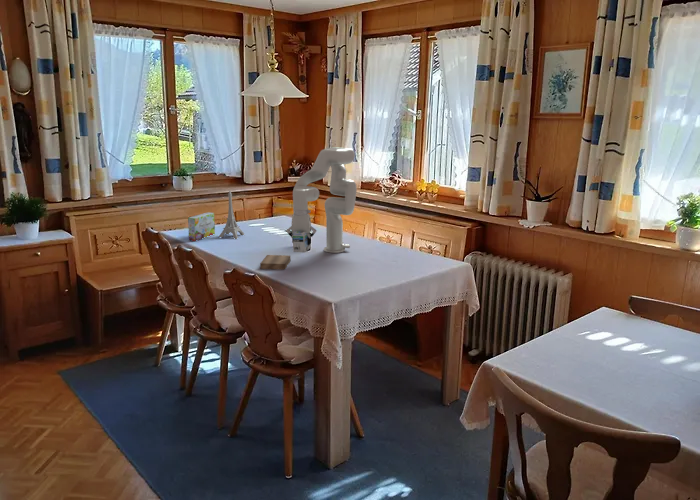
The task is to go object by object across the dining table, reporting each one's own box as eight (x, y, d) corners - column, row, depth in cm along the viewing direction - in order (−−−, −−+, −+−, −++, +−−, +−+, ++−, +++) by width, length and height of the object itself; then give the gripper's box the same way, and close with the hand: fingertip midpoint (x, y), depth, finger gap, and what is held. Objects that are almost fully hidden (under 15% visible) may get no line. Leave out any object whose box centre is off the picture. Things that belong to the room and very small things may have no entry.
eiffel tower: (245, 235, 367) (243, 189, 360) (237, 239, 355) (235, 192, 347) (226, 233, 370) (224, 189, 363) (217, 238, 358) (215, 191, 350)
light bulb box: (305, 253, 292) (304, 233, 289) (292, 252, 294) (292, 232, 291) (310, 247, 302) (310, 228, 299) (298, 246, 304) (298, 227, 301)
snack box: (196, 241, 348) (194, 218, 344) (188, 241, 350) (187, 217, 346) (215, 234, 367) (214, 212, 363) (208, 234, 369) (207, 211, 365)
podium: (290, 260, 306) (290, 255, 306) (285, 269, 290) (284, 264, 289) (267, 260, 307) (267, 254, 307) (260, 268, 291) (260, 263, 290)
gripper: (318, 210, 295) (318, 243, 300) (285, 210, 297) (286, 242, 301) (316, 214, 288) (317, 246, 293) (283, 213, 289) (284, 246, 294)
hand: (301, 244), depth 297 cm, fingers closed on light bulb box, 7 cm apart
